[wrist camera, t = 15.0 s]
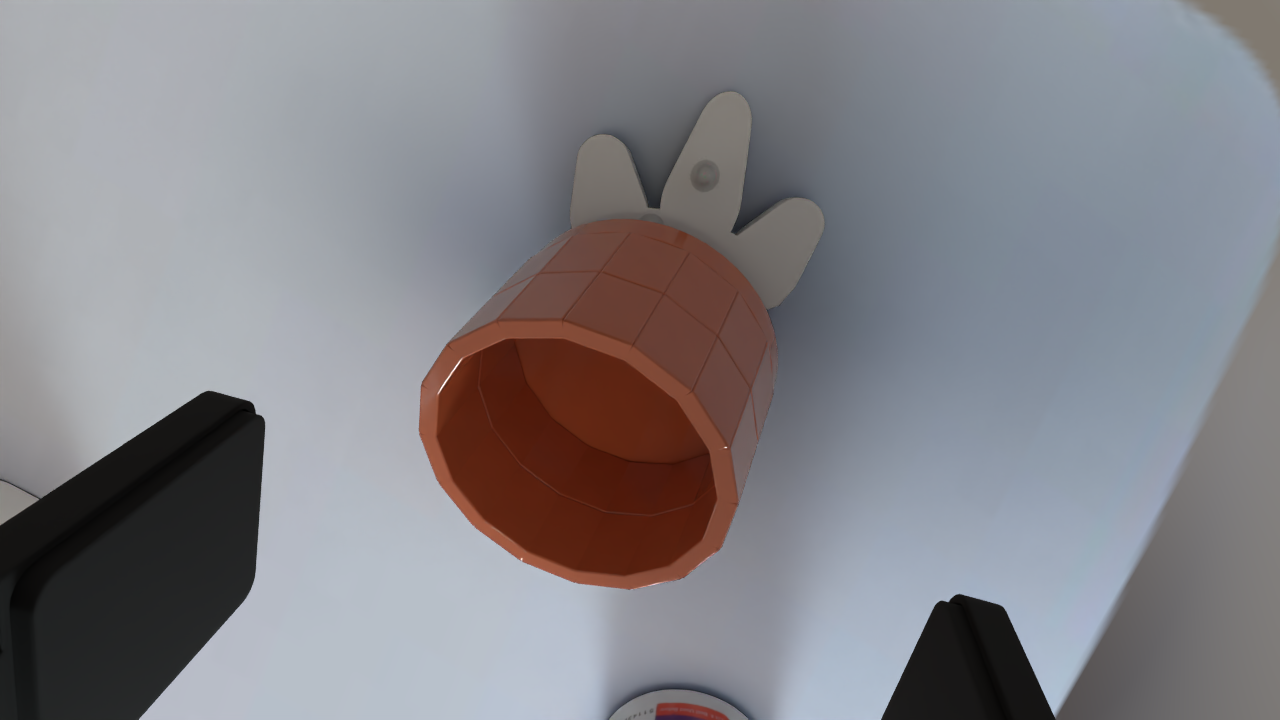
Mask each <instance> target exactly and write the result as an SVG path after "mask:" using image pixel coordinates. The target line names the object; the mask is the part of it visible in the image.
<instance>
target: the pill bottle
mask: <svg viewBox="0 0 1280 720" xmlns="http://www.w3.org/2000/svg"><path fill="white" fill-rule="evenodd" d="M609 720H748V718H747V717H746V716H745V715H744V714H742V713H741V712H740V711H739V710H737V709H736V708H735V707H733V706H731V705H730V704H728V703H726V702H724V701H722V700H720V699H718V698H716V697H713V696H710V695H707V694H704V693H700V692H696V691H690V690H675V689H670V690H660V691H654V692H650V693H647V694H644V695H642V696H639V697H637V698H635V699H633V700H631V701H629V702H628V703H626V704H625V705H623V706H622V707H621V708H619V709H618V710H617V711H616V712H615V713H614V714H613V715H612V716H611V718H610V719H609Z"/></svg>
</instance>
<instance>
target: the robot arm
mask: <svg viewBox="0 0 1280 720" xmlns="http://www.w3.org/2000/svg"><path fill="white" fill-rule="evenodd" d="M264 437H265V421H264V418H263V417H262V416H261V415H257V414H256V412H255V408H254V405H253V404H252V403H251V402H250V401H246V400H243V399H239V398H235V397H232V396H228V395H224V394H221V393H217V392H213V391H206V392H204V393H201V394H200V395H198V396H197V397H195V398H194V399H192V400H191V401H189V402H188V403H186V404H185V405H183V406H182V407H180V408H178V409H177V410H175V411H174V412H172V413H171V414H169V415H168V416H166V417H165V418H163V419H162V420H160V421H159V422H157V423H156V424H154V425H153V426H151V427H149V428H148V429H146V430H145V431H143V432H142V433H140V434H139V435H137V436H136V437H134V438H133V439H131V440H130V441H128V442H127V443H125V444H123V445H122V446H120V447H119V448H117V449H116V450H114V451H113V452H111V453H110V454H108V455H107V456H105V457H104V458H102V459H101V460H99V461H98V462H96V463H94V464H93V465H91V466H90V467H88V468H87V469H85V470H84V471H82V472H81V473H79V474H78V475H76V476H75V477H73V478H72V479H70V480H69V481H67V482H65V483H64V484H62V485H61V486H59V487H58V488H56V489H55V490H53V491H52V492H50V493H49V494H47V495H46V496H44V497H43V498H41V499H40V500H38V501H36V502H35V503H33V504H32V505H30V506H29V507H27V508H26V509H24V510H23V511H21V512H20V513H18V514H17V515H15V516H14V517H12V518H10V519H9V520H7V521H6V522H4V523H3V524H1V525H0V720H139V718H140V717H141V716H142V715H143V714H144V713H145V712H146V711H147V709H148V708H149V707H150V706H151V705H152V704H153V703H154V702H155V700H156V699H157V698H158V697H159V696H160V695H161V694H162V693H163V691H164V690H165V689H166V688H167V687H168V686H169V685H170V684H171V682H172V681H173V680H174V679H175V678H176V677H177V676H178V675H179V673H180V672H181V671H182V670H183V669H184V668H185V667H186V666H187V664H188V663H189V662H190V661H191V660H192V659H193V658H194V657H195V655H196V654H197V653H198V652H199V651H200V650H201V649H202V648H203V646H204V645H205V644H206V643H207V642H208V641H209V640H210V639H211V637H212V636H213V635H214V634H215V633H216V632H217V631H218V630H219V628H220V627H221V626H222V625H223V624H224V623H225V622H226V621H227V619H228V618H229V617H230V616H231V615H232V614H233V613H234V612H235V610H236V609H237V608H238V607H239V606H240V605H241V604H242V602H243V601H244V600H245V598H246V597H247V595H248V594H249V592H250V590H251V587H252V585H253V582H254V578H255V572H256V557H257V542H258V527H259V512H260V497H261V482H262V467H263V452H264ZM881 720H1056V719H1055V717H1054V715H1053V713H1052V711H1051V708H1050V706H1049V704H1048V702H1047V700H1046V698H1045V695H1044V693H1043V691H1042V689H1041V687H1040V684H1039V682H1038V680H1037V678H1036V676H1035V674H1034V671H1033V669H1032V667H1031V665H1030V663H1029V660H1028V658H1027V656H1026V654H1025V652H1024V650H1023V647H1022V645H1021V643H1020V641H1019V639H1018V636H1017V634H1016V632H1015V630H1014V628H1013V625H1012V623H1011V621H1010V619H1009V617H1008V615H1007V612H1006V611H1005V609H1004V608H1003V607H1002V606H1000V605H998V604H994V603H991V602H987V601H983V600H980V599H976V598H972V597H969V596H965V595H961V594H958V595H955V596H954V597H953V598H951V600H950V601H949V602H945V601H939V602H938V603H937V604H936V605H935V607H934V609H933V610H932V613H931V615H930V617H929V619H928V621H927V623H926V625H925V627H924V630H923V632H922V634H921V636H920V638H919V640H918V642H917V644H916V647H915V649H914V651H913V653H912V655H911V657H910V659H909V661H908V664H907V666H906V668H905V670H904V672H903V674H902V676H901V678H900V681H899V683H898V685H897V687H896V689H895V691H894V693H893V695H892V697H891V700H890V702H889V704H888V706H887V708H886V710H885V712H884V714H883V717H882V719H881Z"/></svg>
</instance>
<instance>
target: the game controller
mask: <svg viewBox="0 0 1280 720" xmlns="http://www.w3.org/2000/svg"><path fill="white" fill-rule="evenodd" d="M751 126H752V117H751V111H750V108H749V105H748V103H747V101H746V100H745V99H744V97H743V96H741V95H740V94H738V93H736V92H730V91H728V92H723V93H721V94H718V95H717V96H715V97H714V98H713V99H712V100H711V101H709V103H708V104H707V105H706V106H705V108H704V110H703V111H702V113H701V115H700V117H699V119H698V121H697V123H696V125H695V127H694V129H693V131H692V133H691V135H690V137H689V139H688V141H687V142H686V144H685V146H684V148H683V150H682V152H681V154H680V156H679V158H678V160H677V162H676V164H675V166H674V168H673V170H672V172H671V174H670V176H669V178H668V180H667V182H666V185H665V187H664V190H663V193H662V198H661V203H660V209H659V208H650V207H649V204H648V200H647V197H646V194H645V191H644V189H643V186H642V183H641V180H640V177H639V175H638V172H637V169H636V166H635V164H634V161H633V158H632V155H631V152H630V151H629V149H628V148H627V146H626V145H625V144H623V143H622V142H621V141H620V140H618V139H617V138H615V137H613V136H611V135H606V134H599V135H595V136H592V137H590V138H589V139H587V140H586V141H585V142H584V143H583V144H582V146H581V147H580V149H579V152H578V155H577V162H576V169H575V176H574V184H573V191H572V199H571V206H570V221H571V229H573V228H575V227H578V226H580V225H584V224H587V223H591V222H595V221H601V220H609V219H637V220H644V221H651V222H655V223H659V224H663V225H666V226H670V227H673V228H675V229H678V230H680V231H683V232H685V233H688V234H690V235H692V236H694V237H696V238H697V239H699V240H701V241H703V242H705V243H707V244H708V245H709V246H711V247H712V248H714V249H715V250H716V251H718V252H719V253H721V254H722V255H723V256H724V257H726V258H727V259H728V260H729V261H730V262H731V263H732V264H733V265H734V266H736V267H737V268H738V269H739V271H740V272H741V273H742V274H743V275H744V276H745V277H746V279H747V280H748V281H749V282H750V283H751V285H752V286H753V288H754V289H755V291H756V292H757V294H758V295H759V297H760V298H761V300H762V302H763V304H764V306H765V308H766V310H767V309H770V308H773V307H776V306H779V305H780V304H781V303H782V302H783V300H784V299H785V298H786V297H787V296H788V294H789V293H790V292H791V291H792V290H793V289H794V288H795V286H796V285H797V283H798V281H799V279H800V277H801V275H802V273H803V272H804V270H805V268H806V266H807V264H808V262H809V260H810V258H811V256H812V254H813V252H814V250H815V248H816V246H817V244H818V242H819V240H820V238H821V236H822V234H823V231H824V225H825V223H824V216H823V213H822V211H821V209H820V208H819V207H818V206H817V205H816V204H815V203H814V202H812V201H811V200H808V199H805V198H786V199H783V200H781V201H779V202H777V203H776V204H775V205H773V206H772V207H770V208H769V209H768V210H766V211H765V212H763V213H762V214H761V215H759V216H758V217H756V218H755V219H754V220H752V221H751V222H750V223H748V224H747V225H746V226H744V227H743V228H742V229H741V230H740V231H738V232H737V233H736V234H734V233H732V232H731V230H732V228H733V226H734V224H735V222H736V220H737V217H738V214H739V211H740V206H741V201H742V194H743V186H744V179H745V171H746V164H747V156H748V149H749V141H750V134H751Z"/></svg>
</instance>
